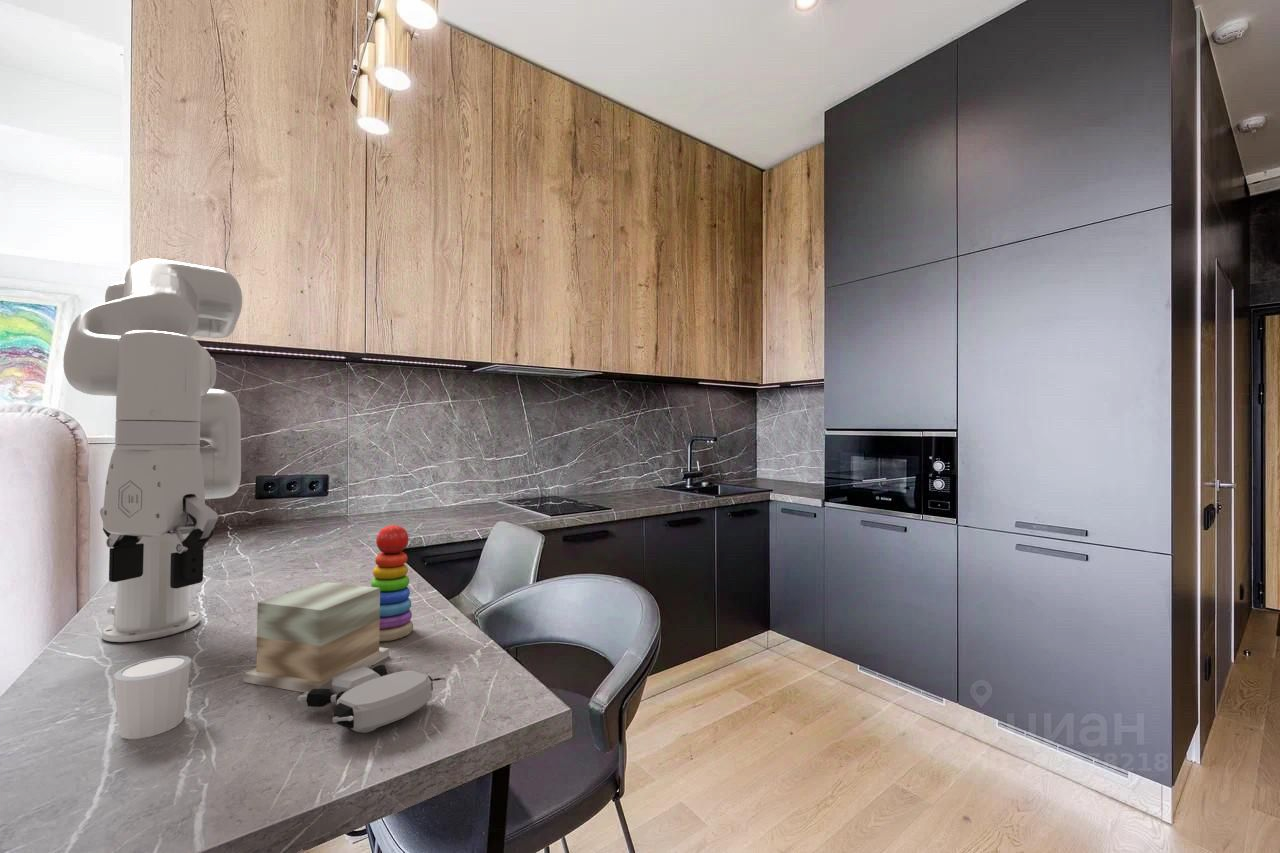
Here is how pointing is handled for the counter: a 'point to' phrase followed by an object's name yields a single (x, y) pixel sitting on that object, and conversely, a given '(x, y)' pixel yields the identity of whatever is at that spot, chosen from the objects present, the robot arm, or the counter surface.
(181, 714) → the shot glass
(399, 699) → the robot toy
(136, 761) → the counter surface
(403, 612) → the stacking toy
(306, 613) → the patterned box
